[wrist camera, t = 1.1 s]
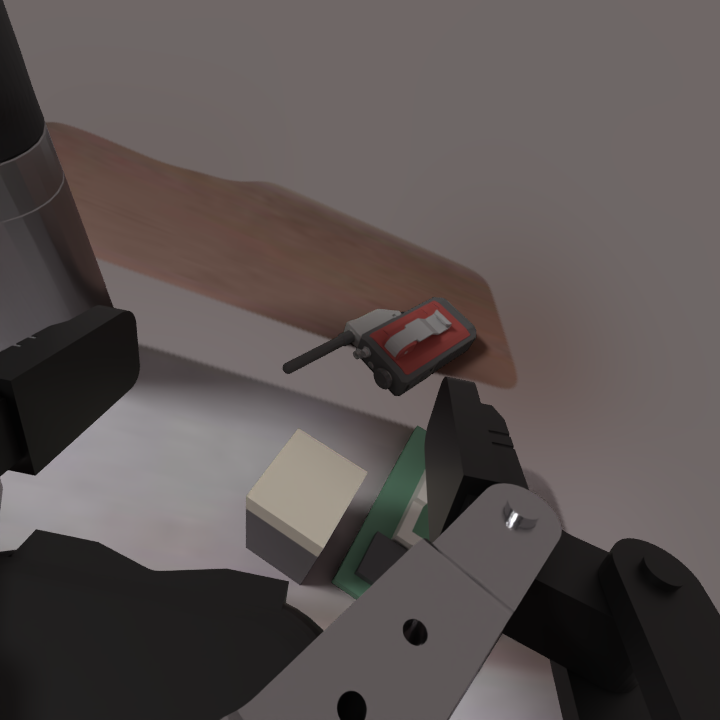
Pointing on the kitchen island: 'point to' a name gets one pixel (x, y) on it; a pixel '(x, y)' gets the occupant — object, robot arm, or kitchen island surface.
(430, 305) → the walkie-talkie
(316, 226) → the kitchen island surface
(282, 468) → the grey and cream block
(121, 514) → the kitchen island surface
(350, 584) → the controller board
